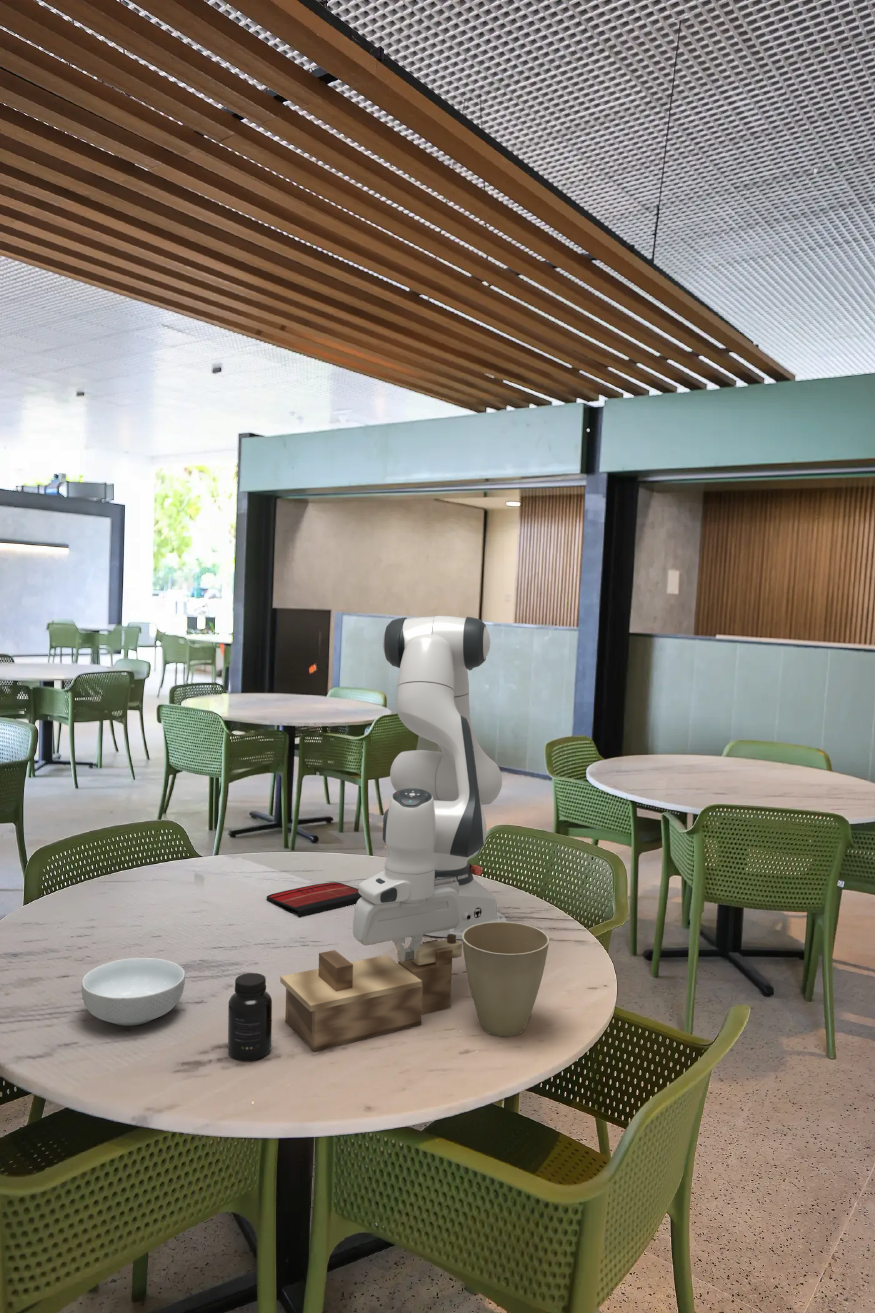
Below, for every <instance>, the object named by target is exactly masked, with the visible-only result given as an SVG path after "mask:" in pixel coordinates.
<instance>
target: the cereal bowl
mask: <svg viewBox="0 0 875 1313" xmlns="http://www.w3.org/2000/svg"><path fill="white" fill-rule="evenodd" d="M185 982H186V972H185V969H184V968H183V967H182V966H181V965H179V964H177V963H175V962H173V961H171V960H168V959H163V958H155V957H130V958H122V959H117V960H113V961H109V962H105V963H103V964H100V965H99V966H96V967H94V968H92V969H91V970H89V971H88V972H87V973H85V975H84V977H83V978H82V981H81V998H82V1001H83V1004H84V1007H85V1008H86V1010H87V1011H88V1012H89V1013H90V1014H91V1015H93V1017H96V1018H97V1019H99V1020H102V1021H105V1022H106V1023H112V1024H114V1025H118V1026H124V1027H126V1026H127V1027H128V1026H131V1027H132V1026H138V1025H139V1026H140V1025H143V1024H146V1023H148V1022H151V1021H152V1020H155V1019H157V1018H159V1017H162V1016H164V1015H166V1014H167V1013H168V1012H170V1011H171V1010H173V1008H175V1006H176V1005H177V1004H178V1003H179V1001H180V999H181V997H182V996H183V994H184V989H185Z"/></svg>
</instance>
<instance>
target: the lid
mask: <svg viewBox="0 0 875 1313" xmlns="http://www.w3.org/2000/svg"><path fill="white" fill-rule="evenodd" d="M279 978H280V979H279V980H280V984H282V985H283V986H284V987H285V989H286V988H287V989H288V990H289V991H290V992H291V993H292V994H293V995H294V996H295V997H296V998H297V999H298V1000H299V1001H300V1002H301V1003H302V1004H303V1005H304V1006H305V1007H306V1008H307V1009H308V1010H309V1011H310V1012H311V1011H315V1010H320V1009H324V1008H329V1007H333V1006H338V1005H342V1004H346V1003H351V1002H355V1001H360V1000H364V999H369V998H373V997H377V996H382V995H386V994H391V993H395V992H400V991H404V990H408V989H413V988H417V987H422V980H420V979H419V978H417V977H416V976H415V975H413V974H412V973H411V972H409V971H408V970H406V969H405V968H404V967H402V966H401V965H400V964H398V961H396V960H394V959H393V958H391V957H390V956H388V955H387V954H385V955H380V956H376V957H375V956H374V957H371V958H370V957H369V958H365V959H360V960H359V959H358V960H355V961H350V960H348V959H347V958H346V957H344V956H343V955H342V954H340V953H339V952H338V951H337V950H335V949H333V950H329V951H324V952H319V953H318V968H316V969H310V970H306V971H300V972H295V973H290V974H284V975H280V977H279Z"/></svg>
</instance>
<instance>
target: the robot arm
mask: <svg viewBox="0 0 875 1313" xmlns="http://www.w3.org/2000/svg"><path fill="white" fill-rule="evenodd" d="M490 638H491V637H490V634H489V631H488V629H487V625H486V624H485V622H483V620H482V619H479V618H476V617H471V616H466V617H459V616H452V615H451V616H449V615H435V616H420V617H411V618H407V617H406V616H405V617H400V618H395V619H392V620H391V621H390V622H389V623H388V624H387V625H386V627H385V632H384V634H383V637H382V650H383V653H384V656H385V660H386V661H387V662H388V663H389V664H390V665H391V666H393V667H396V668H398V669H399V670H398V677H397V686H396V713H397V716H398V718H399V720H400V722H401V723H402V724H403V726H405V727H406V728H407V729H408V730H409V731H410V732H412V733H414V734H415V735H417V736H419V737H420V738H423V739H425V740H427V741H430V742H433V743H435V744H437V745H438V747H439V748H440V750H441V751H437V750H426V749H416V750H415V749H414V750H406V751H405V750H404V751H401V752H400V753H399V754H397V756H396V757H395V758H394V760H393V761H392V764H391V766H390V770H389V773H390V774H389V777H390V782H391V785H392V788H393V789H394V791H395V792H394V793H393V794H392V795H391V796H390V800H389V801H390V802H389V805H388V808H387V809H386V810H385V811H384V813H383V819H382V841H383V842H384V844H385V846H386V851H387V853H386V854H387V855H386V859H385V862H384V869H383V870H380V872H379V873H376V874H375V875H372V876H371V877H369V878H367V879H364V880H362V881H361V882H360V883H359V884H358V887H357V889H358V892H359V894H360V895H361V896H362V897H361V898H360V899H359V900H358V901H357V903H356V904H355V905H354V906H355V907H354V913H353V919H352V920H353V921H352V936H353V938H355V940H356V941H357V942H358V943H360V944H361V945H363V946H369V945H370V946H371V945H375V944H380V943H386V942H390V941H392V943H393V945H394V946H395V948H396V950H397V959H398V961H401V962H404V961H409V960H413V959H416V953H417V949H418V948H419V946H420V945H421V944H422V943H423V940H424V938H423V937H424V935H425V936H431V937H440V938H441V937H442V938H447V935H448V934H455V935H456V940H462V934H463V932H464V931H465V930H466V929H467V928H469V927H471V926H473V925H476V924H480V923H485V922H498V921H503V922H508V920H507V918H506V916H504V914H502V913H501V912H499V911H498V906H497V900H496V898H495V895H494V894H493V893H492V892H491V891H489V889H487V888H486V887H484V885H482V884H481V883H480V882H478V881H477V880H476V879H474V875H475V876H476V877H477V876H481V875H482V874H483V867H481V866H479V865H477V864H473V865H472V864H471V863H470V862H468V858H470V857H472V856H474V855H475V854H476V853H477V852H479V851H480V850H481V849H482V848H483V847H484V846H485V842H486V838H487V822H486V817H485V814H484V813H485V812H484V809H483V806H486V805H487V806H488V805H491V804H492V803H493V802H494V801H495V800H496V799H497V798H498V797H499V795H500V793H501V790H502V786H503V775H502V772H501V770H500V767H499V765H498V764H497V763H496V762H495V761H494V760H493V759H492V758H490V757H489V756H488V754H486V752H485V751H484V750H483V748H482V747H481V746H480V744H479V743H478V740H477V738H476V737H475V733H474V731H473V727H472V722H471V712H470V711H471V710H470V709H471V708H470V687H469V686H470V683H469V682H470V681H469V673H468V671H472V670H473V669H474V668H475V669H476V668H479V667H480V666H481V665H482V664H484V663H485V662H486V661H487V660H486V659H487V656H488V655H489V652H490V647H491V639H490ZM406 938H412V939H411V941H410V942H409V945H408V946H407V947H404V946H403V945H404V944H405V943H406Z"/></svg>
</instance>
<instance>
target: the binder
mask: <svg viewBox="0 0 875 1313" xmlns="http://www.w3.org/2000/svg"><path fill="white" fill-rule="evenodd" d="M361 897H362V896H361V895H360V894H359V892H358V887H357V888H356V887H353V886H351V885H348V884H344V883H341V882H339V881H338V882H337V881H332V882H331V881H330V882H324V883H317V884H311V885H306V886H301V887H297V888H292V889H287V890H282V891H279V892H276V893H270V894H268V895H267V896H266V900H267V901H268V902H269V903H271V904H274V905H275V906H276V907H278V908H280V909H281V910H283V911H285V912H286V913H290V914H292V913H293V912H294V913H298V918H299V919H300V918H304V917H308V916H312V915H317V914H321V913H324V912H329V911H334V910H337V909H342V908H345V907H346V906H347V907H350V905H351V906H355V905H356V903H357V901H358V900H359V899H360V898H361ZM354 904H355V905H354Z"/></svg>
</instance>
